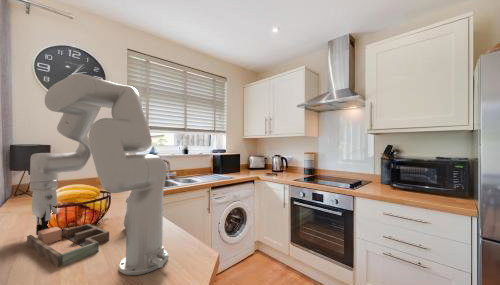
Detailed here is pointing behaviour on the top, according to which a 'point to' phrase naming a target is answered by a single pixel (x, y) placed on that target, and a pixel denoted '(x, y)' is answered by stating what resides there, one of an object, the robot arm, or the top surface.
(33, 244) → the channel
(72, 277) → the top surface
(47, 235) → the block
